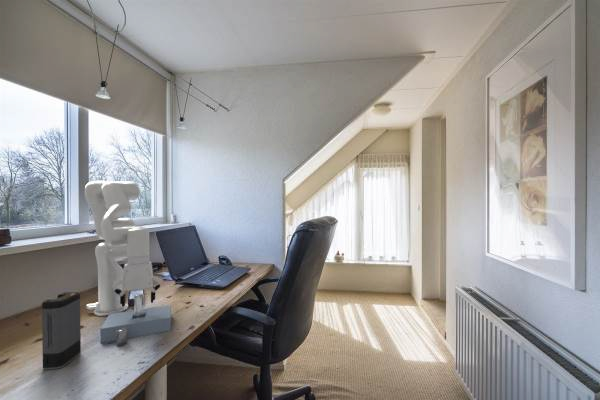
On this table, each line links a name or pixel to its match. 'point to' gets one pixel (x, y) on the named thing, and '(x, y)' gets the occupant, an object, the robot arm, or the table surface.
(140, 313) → the long pin
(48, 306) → the electronic device
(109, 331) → the bore block
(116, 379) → the table surface
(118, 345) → the short pin
